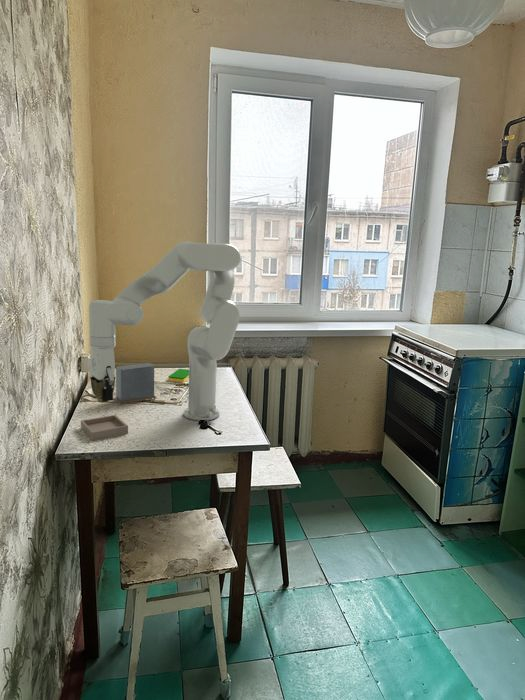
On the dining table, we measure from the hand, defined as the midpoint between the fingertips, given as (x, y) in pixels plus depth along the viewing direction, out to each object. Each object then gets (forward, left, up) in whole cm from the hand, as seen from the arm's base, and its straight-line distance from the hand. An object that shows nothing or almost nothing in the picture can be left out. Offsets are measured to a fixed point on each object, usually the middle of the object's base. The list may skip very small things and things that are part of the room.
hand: (103, 396), depth 151 cm
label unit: (+24, -20, -11) cm, 33 cm away
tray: (0, 0, -11) cm, 11 cm away
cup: (0, 0, -2) cm, 2 cm away
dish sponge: (+43, -49, -12) cm, 66 cm away
